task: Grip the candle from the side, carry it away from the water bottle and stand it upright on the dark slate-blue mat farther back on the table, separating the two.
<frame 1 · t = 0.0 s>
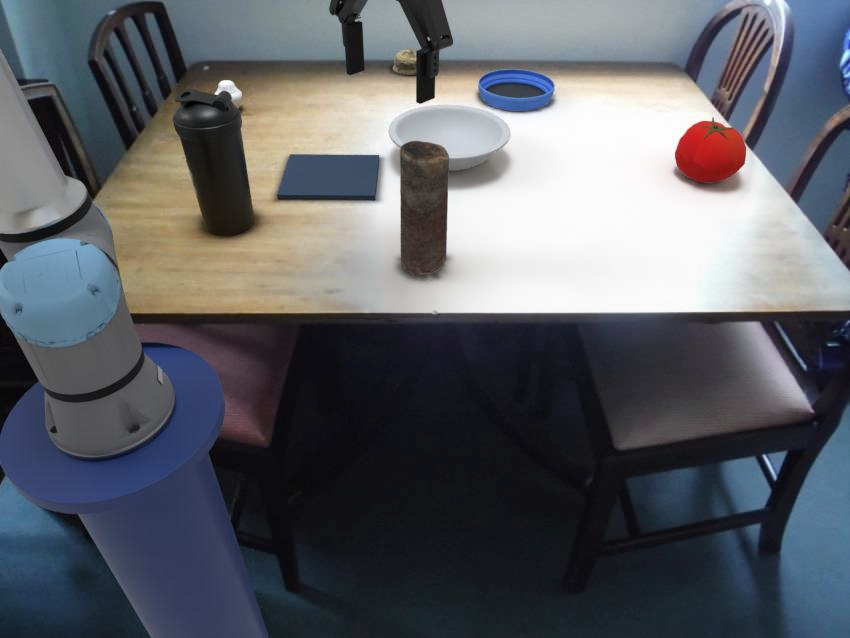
hand: (389, 86, 89), 29 cm above the table, tool pointing down, fingers open, 13 cm apart
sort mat: (330, 178, 128), on the table
water bottle: (230, 223, 116), on the table
bowl: (514, 98, 159), on the table
soup bowl: (448, 160, 134), on the table
cake: (411, 69, 172), on the table
tomato: (702, 177, 130), on the table
candle: (423, 264, 107), on the table
muffin: (231, 111, 151), on the table
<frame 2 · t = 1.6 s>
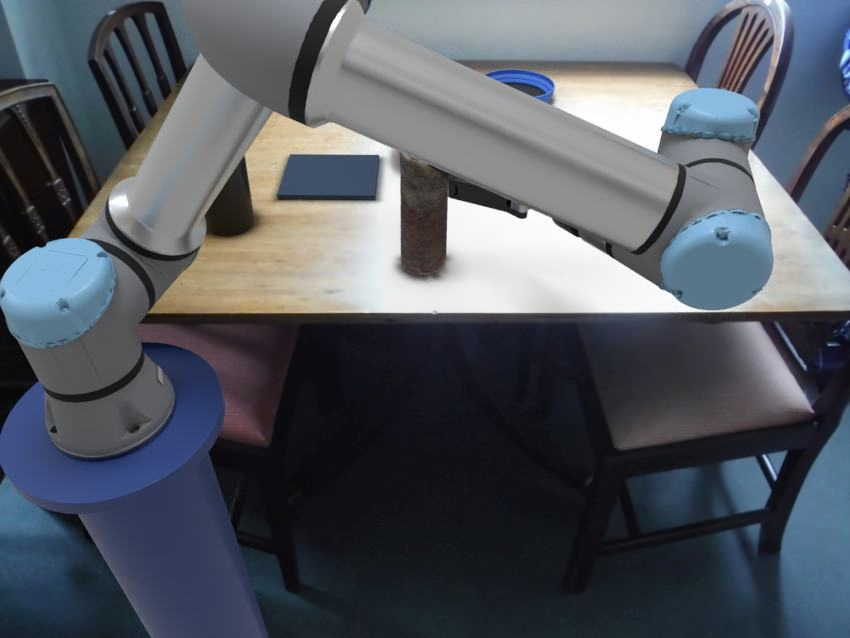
hand: (471, 139, 85), 25 cm above the table, tool horizontal, fingers open, 13 cm apart
nothing on the table moved.
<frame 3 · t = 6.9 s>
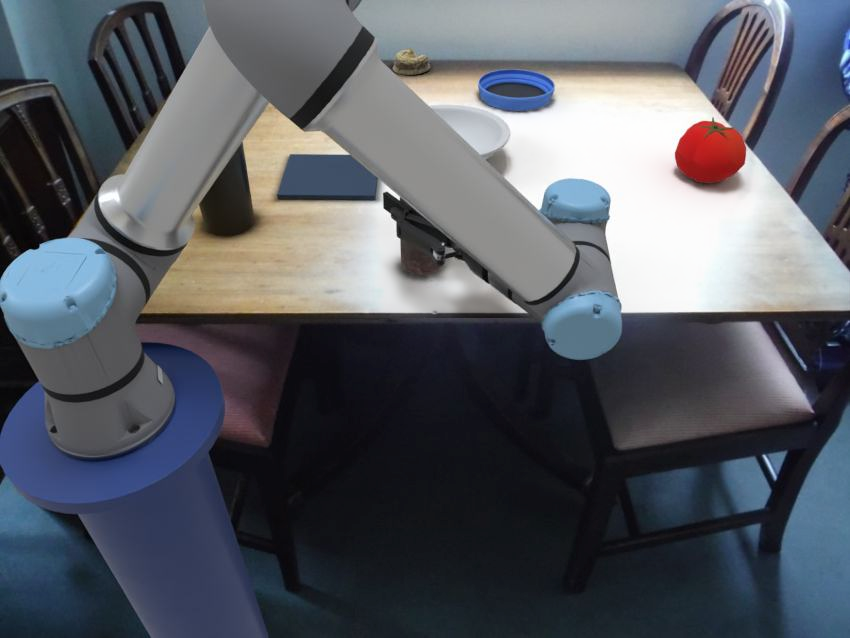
hand: (406, 192, 103), 11 cm above the table, tool horizontal, fingers closed on candle, 7 cm apart
candle: (423, 264, 107), on the table, touching gripper
everything else where it was.
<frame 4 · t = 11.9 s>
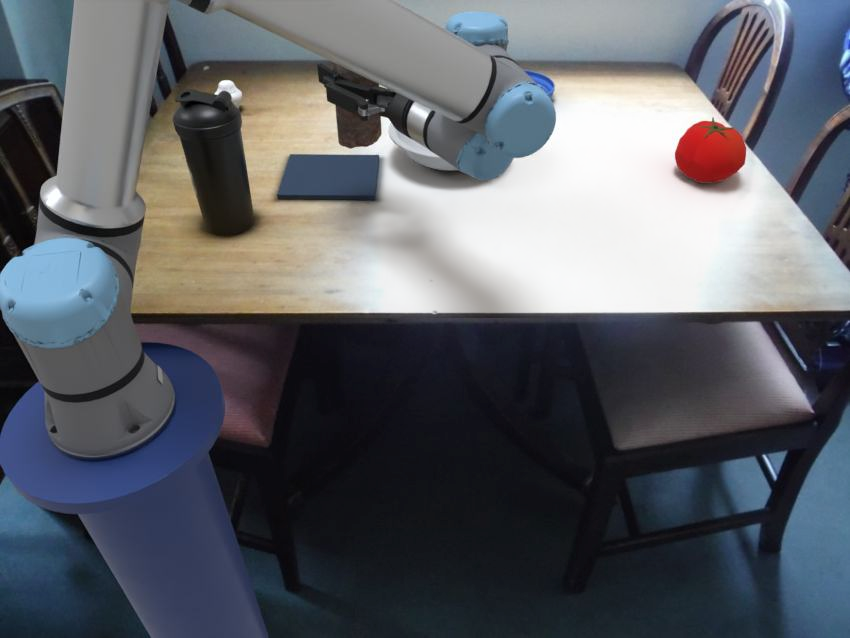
hand: (341, 67, 107), 24 cm above the table, tool horizontal, fingers closed on candle, 7 cm apart
candle: (360, 141, 112), point 13 cm above the table, touching gripper
everything else where it was.
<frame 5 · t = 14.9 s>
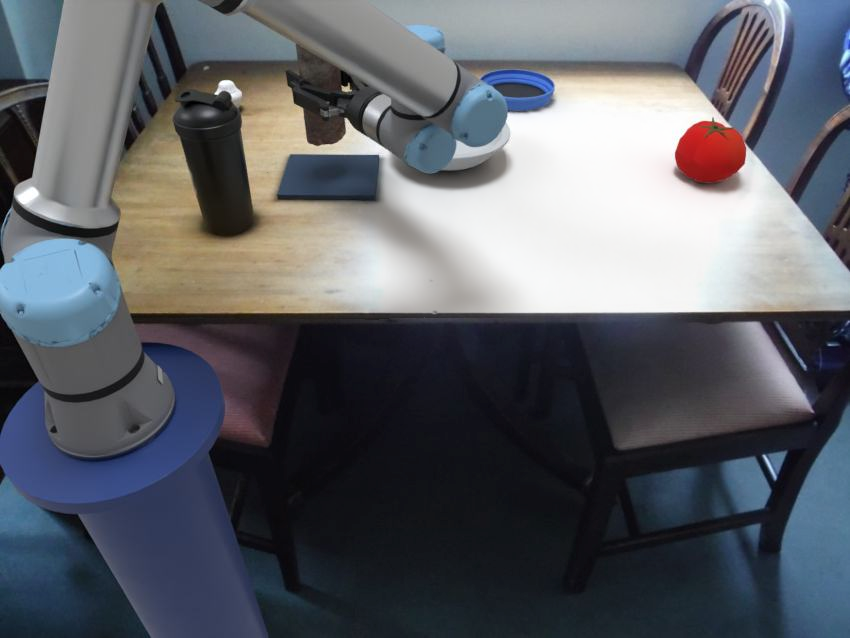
hand: (308, 72, 118), 19 cm above the table, tool horizontal, fingers closed on candle, 7 cm apart
candle: (327, 140, 123), point 8 cm above the table, touching gripper
everything else where it was.
when the fingers open (12 cm above the table, at t = 17.2 s): candle stays where it is, resting on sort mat.
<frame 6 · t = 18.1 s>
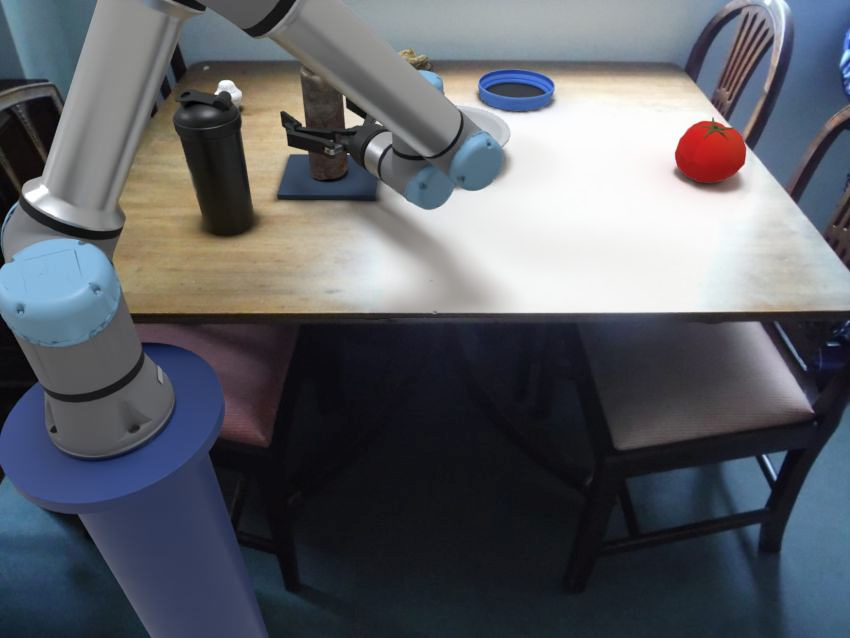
hand: (315, 109, 121), 13 cm above the table, tool horizontal, fingers open, 13 cm apart
candle: (330, 173, 127), point 1 cm above the table, touching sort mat
everything else where it was.
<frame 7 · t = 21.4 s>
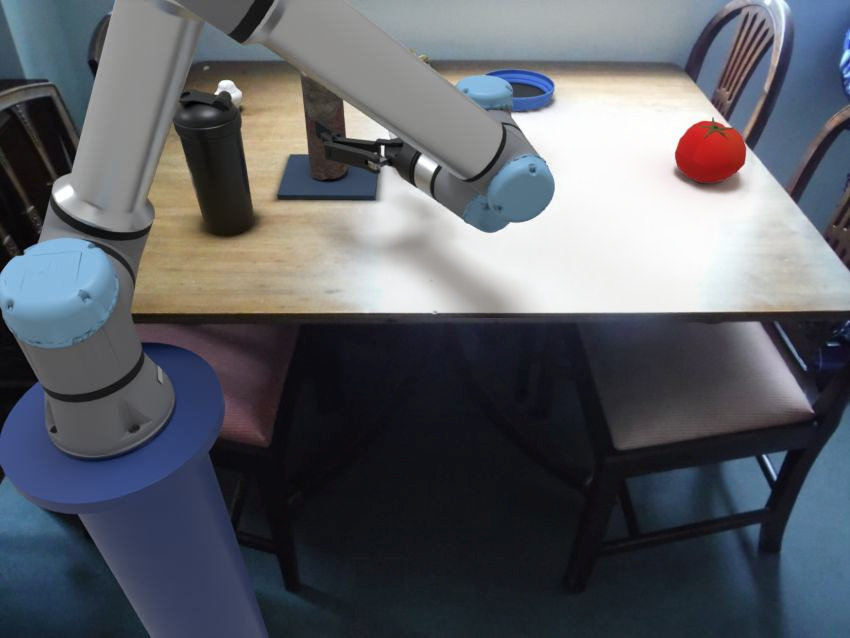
hand: (353, 117, 109), 17 cm above the table, tool horizontal, fingers open, 13 cm apart
nothing on the table moved.
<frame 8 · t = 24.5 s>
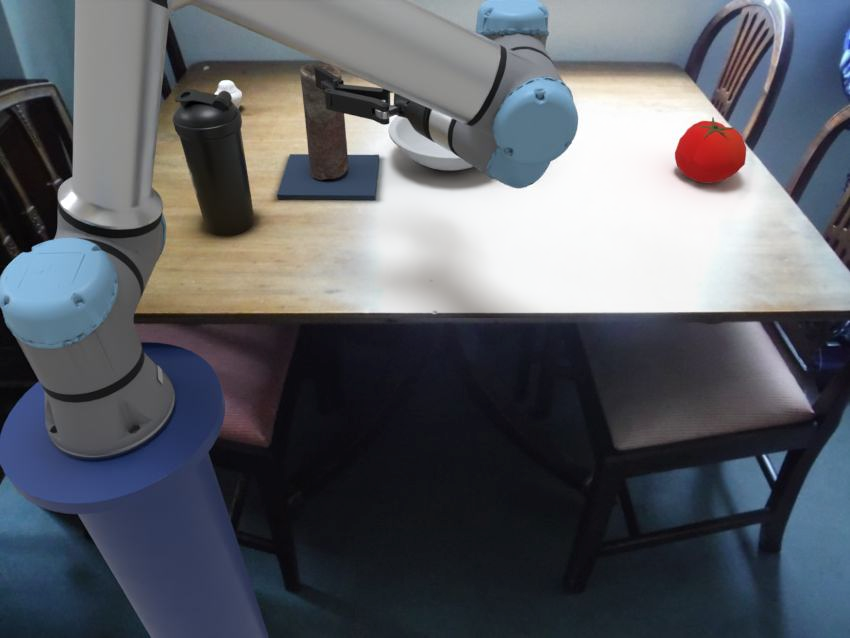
hand: (357, 66, 96), 28 cm above the table, tool horizontal, fingers open, 13 cm apart
nothing on the table moved.
at the end: candle inside the target area on the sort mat (0.3 cm from its centre), point 0.8 cm above the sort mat's base; candle tilted 0°; water bottle moved 0.2 cm from its start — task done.
